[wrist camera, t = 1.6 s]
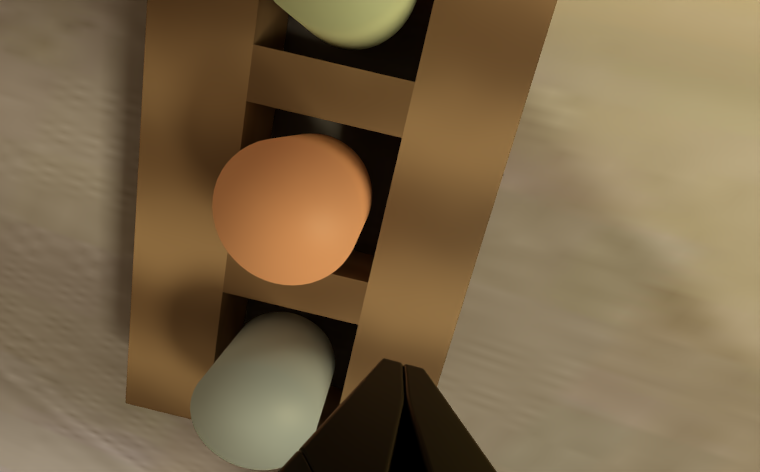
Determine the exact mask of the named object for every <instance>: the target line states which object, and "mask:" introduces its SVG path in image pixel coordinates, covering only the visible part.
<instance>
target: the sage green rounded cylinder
mask: <svg viewBox="0 0 760 472" xmlns="http://www.w3.org/2000/svg"><path fill="white" fill-rule="evenodd" d="M334 371H335V354H334V350H333V347H332V345H331V342H330V340H329V339H328V337H327V336H326V334H325V333H324V332H323V331H322V330H321V329H320V328H319V327H318V326H317V325H316V324H314V323H313V322H312V321H310V320H308V319H307V318H304V317H302V316H300V315H297V314H294V313H289V312H270V313H265V314H262V315H259V316H257V317H255V318H253V319H252V320H250V321H249V322H248V323H247V324H246V325H245V326H244V327H243V328H242V329H241V331H240V332H239V333H238V334H237V336H236V337H235V338H234V339H233V340H232V342H231V343H230V344H229V345H228V347H227V348H226V349H225V350H224V352H223V353H222V354H221V355H220V357H219V358H218V359H217V360H216V361H215V363H214V364H213V365H212V366H211V368H210V369H209V370H208V371H207V373H206V374H205V375H204V376H203V378H202V379H201V380H200V381H199V383H198V384H197V385H196V387H195V389H194V391H193V394H192V397H191V402H190V413H191V419H192V423H193V426H194V428H195V430H196V432H197V434H198V436H199V437H200V439H201V440H202V441H203V443H204V444H205V445H206V446H207V447H208V448H209V449H210V450H211V451H212V452H213V453H215V454H216V455H217V456H219V457H220V458H222V459H224V460H225V461H227V462H229V463H231V464H234V465H236V466H239V467H243V468H247V469H252V470H272V469H277V468H281V467H283V466H284V465H285V463H286V462H287V461H288V460H289V459H290V458H291V457H292V456H293V455H294V454H295V453H296V452H297V451H299V449H300V448H301V446H302V445H303V444H304V443H305V442H306V441H307V440H308V439H309V438H310V437H311V436H312V434H313V433H314V432H315V431H316V429H317V425H318V422H319V419H320V416H321V413H322V409H323V406H324V403H325V400H326V396H327V393H328V390H329V387H330V384H331V380H332V377H333V374H334Z"/></svg>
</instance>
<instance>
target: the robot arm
mask: <svg viewBox="0 0 760 472" xmlns="http://www.w3.org/2000/svg"><path fill="white" fill-rule="evenodd" d="M278 472H496V470H495V469H494V467H493V466H492V465H491V463H490V462H489V460H488V459H487V457H486V456H485V455H484V453H483V452H482V450H481V449H480V448H479V446H478V445H477V443H476V442H475V440H474V439H473V438H472V436H471V435H470V433H469V432H468V431H467V429H466V428H465V426H464V425H463V423H462V422H461V421H460V419H459V418H458V416H457V415H456V413H455V412H454V411H453V409H452V408H451V406H450V405H449V404H448V402H447V401H446V399H445V398H444V396H443V395H442V394H441V392H440V391H439V389H438V388H437V387H436V385H435V384H434V382H433V381H432V379H431V378H430V377H429V375H428V374H427V372H426V371H425V370H424V369H423V368H421V367H417V366H413V365H409V364H404V365H402V363H401V362H398V361H394V360H390V359H386V358H383V359H382V360H381V361H380V362H379V363H378V364H377V365H376V366H375V367H374V368H373V369H372V370H371V371H370V373H369V374H368V375H367V376H366V377H365V378H364V379H363V380H362V381H361V382H360V383H359V384H358V386H357V387H356V388H355V389H354V390H353V391H352V392H351V393H350V394H349V395H348V396H347V398H346V399H345V400H344V401H343V402H342V403H341V404H340V405H339V406H338V407H337V408H336V409H335V411H334V412H333V413H332V414H331V415H330V416H329V417H328V418H327V419H326V420H325V421H324V423H323V424H322V425H321V426H320V427H319V428H318V429H317V430H316V431H315V432H314V433H313V434H312V436H311V437H310V438H309V439H308V440H307V441H306V442H305V443H304V444H303V445H302V446H301V448H300V449H299V451H297V452H296V453H295V454H294V455H293V456H292V457H291V458H290V459H289V460H288V461H287V462H286V463H285V465H284V466H283V467H282V468H281V469H280V470H279V471H278Z"/></svg>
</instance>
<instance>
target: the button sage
mask: <svg viewBox="0 0 760 472" xmlns="http://www.w3.org/2000/svg"><path fill="white" fill-rule="evenodd" d="M274 1H275V3H276V4H277V5H279V6H280V7H281V8H282V9H283V10H285V11H286V12H287V13H288V14H289V15H291V16H292V17H293V18H294V19H295V20H297V21H298V22H299V23H300V24H301V25H303V26H304V27H305V28H306V29H307V30H309V31H310V32H311V33H312V34H314V35H315V36H316V37H317V38H319V39H320V40H322V41H323V42H325V43H327V44H329V45H331V46H334V47H337V48H340V49H346V50H361V49H367V48H371V47H374V46H376V45H379V44H381V43H383V42H385V41H386V40H388V39H389V38H391V37H392V36H393V35H394V34H396V33H397V32H398V31H399V30H400V28H401V27H402V26H403V25H404V24H405V22H406V21H407V20H408V18H409V16H410V14H411V13H412V11H413V9H414V6H415V4H416V1H417V0H274Z"/></svg>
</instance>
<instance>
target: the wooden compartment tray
mask: <svg viewBox="0 0 760 472" xmlns="http://www.w3.org/2000/svg"><path fill="white" fill-rule="evenodd" d="M556 3H557V0H434V4H433V8H432V12H431V16H430V21H429V25H428V29H427V34H426V38H425V42H424V46H423V51H422V55H421V59H420V63H419V68H418V72H417V76H416V80H415V82H412V81H408V80H404V79H400V78H395V77H391V76H387V75H382V74H378V73H374V72H370V71H365V70H361V69H357V68H352V67H348V66H344V65H340V64H335V63H331V62H327V61H323V60H318V59H314V58H310V57H305V56H301V55H297V54H293V53H288V52H284V45H285V38H286V31H287V24H288V17H289V14H288V13H287V12H286V11H285V10H283V9H282V8H281V7H280V6H279V5H277V4H276V3H275V1H274V0H147V16H146V34H145V53H144V71H143V90H142V109H141V127H140V146H139V164H138V183H137V201H136V220H135V239H134V257H133V276H132V294H131V313H130V332H129V350H128V369H127V387H126V403H127V404H131V405H135V406H139V407H144V408H148V409H152V410H156V411H160V412H164V413H168V414H172V415H176V416H180V417H184V418H188V419H191V413H190V402H191V397H192V394H193V391H194V389H195V387H196V385H197V384H198V383H199V381H200V380H201V379H202V378H203V376H204V375H205V374H206V373H207V371H208V370H209V369H210V368H211V366H212V365H213V364H214V363H215V361H216V360H217V359H218V358H219V357H220V355H221V354H222V353H223V352H224V350H225V349H226V348H227V347H228V345H229V344H230V343H231V342H232V340H233V339H234V338H235V337H236V336H237V334H238V333H239V332H240V331H241V329H242V328H243V327H244V322H245V315H246V308H247V301H248V298H250V299H254V300H258V301H262V302H266V303H270V304H274V305H279V306H283V307H287V308H291V309H295V310H299V311H303V312H308V313H312V314H316V315H320V316H324V317H328V318H332V319H337V320H341V321H345V322H349V323H353V324H357V325H358V328H357V332H356V337H355V341H354V345H353V349H352V354H351V358H350V362H349V366H348V371H347V375H346V379H345V384H344V388H343V389H341V388H337V387H333V386H330V387H329V390H328V393H327V396H326V400H325V403H324V406H323V409H322V413H321V416H320V419H319V422H318V425H317V429H318V428H319V427H320V426H321V425H322V424H323V423H324V421H325V420H326V419H327V418H328V417H329V416H330V415H331V414H332V413H333V412H334V411H335V409H336V408H337V407H338V406H339V405H340V404H341V403H342V402H343V401H344V400H345V399H346V398H347V396H348V395H349V394H350V393H351V392H352V391H353V390H354V389H355V388H356V387H357V386H358V384H359V383H360V382H361V381H362V380H363V379H364V378H365V377H366V376H367V375H368V374H369V373H370V371H371V370H372V369H373V368H374V367H375V366H376V365H377V364H378V363H379V362H380V361H381V360H382V359H383V358H386V359H390V360H394V361H398V362H401V363H402V365H404V364H409V365H413V366H417V367H421V368H423V369H424V370H425V371H426V372H427V374H428V375H429V377H430V378H431V379H432V381H433V382H434V384H435V385H436V387H437V385H438V381H439V378H440V375H441V372H442V368H443V365H444V362H445V359H446V356H447V352H448V349H449V346H450V343H451V340H452V336H453V333H454V330H455V327H456V324H457V320H458V317H459V314H460V311H461V308H462V304H463V301H464V298H465V295H466V291H467V288H468V285H469V282H470V279H471V275H472V272H473V269H474V266H475V263H476V259H477V256H478V253H479V250H480V247H481V243H482V240H483V237H484V234H485V231H486V227H487V224H488V221H489V218H490V214H491V211H492V208H493V205H494V202H495V198H496V195H497V192H498V189H499V186H500V182H501V179H502V176H503V173H504V170H505V166H506V163H507V160H508V157H509V153H510V150H511V147H512V144H513V141H514V137H515V134H516V131H517V128H518V125H519V121H520V118H521V115H522V112H523V109H524V105H525V102H526V99H527V96H528V93H529V89H530V86H531V83H532V80H533V76H534V73H535V70H536V67H537V64H538V60H539V57H540V54H541V51H542V48H543V44H544V41H545V38H546V35H547V32H548V28H549V25H550V22H551V19H552V16H553V12H554V9H555V6H556ZM275 108H278V109H282V110H286V111H290V112H295V113H299V114H303V115H307V116H312V117H316V118H320V119H324V120H329V121H333V122H337V123H341V124H345V125H350V126H354V127H358V128H362V129H367V130H371V131H375V132H379V133H384V134H388V135H392V136H396V137H401V138H402V140H401V144H400V149H399V153H398V157H397V162H396V166H395V170H394V174H393V179H392V183H391V187H390V191H389V196H388V200H387V204H386V209H385V213H384V217H383V221H382V226H381V230H380V234H379V238H378V243H377V247H376V251H375V255H371V254H367V253H363V252H358V251H354V250H352V252H351V253H350V255H349V257H348V258H347V259H346V261H345V262H344V263H343V264H342V265H341V266H340V267H339V268H338V269H337V270H336V271H334V272H333V273H332V274H330V275H329V276H327V277H325V278H323V279H321V280H319V281H316V282H313V283H309V284H304V285H281V284H275V283H272V282H268V281H265V280H263V279H261V278H258V277H256V276H255V275H253V274H251V273H249V272H248V271H247V270H245V269H244V268H243V267H241V266H240V265H239V264H238V263H237V262H236V261H235V260H234V259H233V258H232V257H231V255H230V254H229V253H228V252H227V250H226V249H225V247H224V246H223V244H222V242H221V240H220V238H219V236H218V233H217V230H216V228H215V224H214V219H213V211H212V200H213V193H214V188H215V185H216V182H217V179H218V177H219V175H220V173H221V171H222V169H223V168H224V167H225V165H226V164H227V162H228V161H229V160H230V159H231V158H232V157H233V156H234V155H235V154H237V153H238V152H239V151H240V150H242V149H244V148H245V147H247V146H249V145H251V144H253V143H256V142H259V141H263V140H266V139H271V135H272V128H273V121H274V114H275ZM317 429H316V430H317Z"/></svg>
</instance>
